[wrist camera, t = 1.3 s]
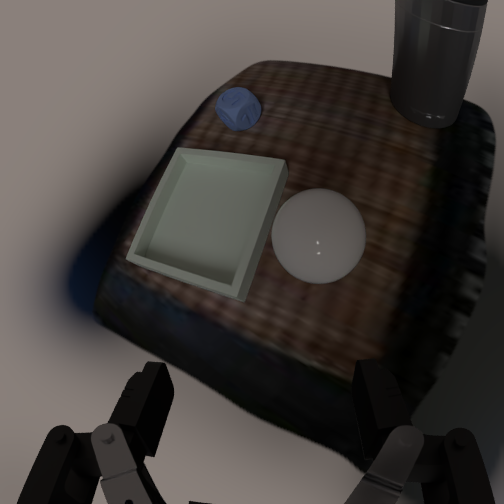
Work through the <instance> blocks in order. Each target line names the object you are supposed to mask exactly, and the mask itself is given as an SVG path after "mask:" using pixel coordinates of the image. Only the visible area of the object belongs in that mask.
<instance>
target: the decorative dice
mask: <svg viewBox="0 0 504 504" xmlns="http://www.w3.org/2000/svg"><path fill="white" fill-rule="evenodd" d="M215 110H216V113H217V114H218V116H219V117H220V119H221V120H222V121H223V122H224V123H225V124H226V125H227V126H228V127H229V128H230V129H232V130H234V131H242V130H246V129H248V128H250V127H252V126H253V125H254V124H255V123H256V122H257V121H258V119H259V117H260V114H261V105H260V103H259V101H258V99H257V98H256V97H255V96H254V95H253V94H252V93H251V92H250V91H249V90H247V89H245V88H241V87H236V88H232V89H229V90H227V91H225V92H224V93H222V94H221V96H220V97H219V98H218V100H217V102H216V107H215Z"/></svg>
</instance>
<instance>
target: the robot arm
mask: <svg viewBox="0 0 504 504" xmlns="http://www.w3.org/2000/svg"><path fill="white" fill-rule="evenodd" d="M487 2H488V0H395V36H394V55H393V69H392V80H391V92H390V97H391V101H392V103H393V105H394V107H395V108H396V109H397V111H398V112H399V113H401V114H402V115H403V116H404V117H406V118H407V119H409V120H410V121H412V122H414V123H416V124H419V125H422V126H425V127H430V128H444V127H447V126H450V125H451V124H452V123H454V122H455V120H456V118H457V116H458V113H459V110H460V107H461V104H462V101H463V98H464V95H465V92H466V89H467V86H468V83H469V79H470V76H471V72H472V69H473V65H474V61H475V58H476V54H477V50H478V46H479V42H480V37H481V33H482V28H483V23H484V18H485V12H486V7H487ZM173 398H174V387H173V383H172V381H171V378H170V375H169V372H168V369H167V366H166V364H165V363H162V362H149V361H148V362H147V363H146V364H145V366H144V369H143V371H142V372H136V373H135V374H134V375H133V376H132V377H131V378H130V379H129V380H128V382H127V384H126V386H125V390H123V392H122V394H121V397H120V398H119V400H118V402H117V404H116V406H115V409H114V411H113V413H112V415H111V417H110V419H109V421H108V423H106V424H102V425H100V426H98V427H97V428H96V429H95V430H94V431H93V432H91V433H74V432H73V430H72V429H71V428H70V427H68V426H66V425H60V426H56V427H54V428H53V429H52V430H50V432H49V433H48V435H47V437H46V439H45V441H44V443H43V445H42V447H41V449H40V451H39V454H38V456H37V458H36V460H35V462H34V464H33V466H32V469H31V471H30V473H29V476H28V478H27V480H26V482H25V485H24V487H23V489H22V492H21V494H20V497H19V499H18V502H17V504H92V501H93V498H94V494H95V491H96V488H97V485H98V482H99V479H100V476H103V479H102V480H101V481H100V483H101V487H102V489H103V492H104V495H105V497H106V500H107V503H108V504H166V502H165V501H164V500H163V498H162V496H161V495H160V493H159V491H158V489H157V488H156V486H155V484H154V482H153V480H152V478H151V476H150V474H149V472H148V470H147V468H146V466H145V464H144V459H145V456H151V457H155V454H156V451H157V448H158V445H159V441H160V438H161V435H162V432H163V428H164V426H165V423H166V420H167V416H168V413H169V411H170V407H171V405H172V401H173ZM352 399H353V404H354V409H355V413H356V418H357V423H358V428H359V433H360V438H361V443H362V448H363V453H364V459H365V460H368V459H373V464H372V465H371V467H370V468H369V470H368V471H367V473H366V474H365V475H364V477H363V478H362V479H361V481H360V482H359V484H358V485H357V487H356V488H355V489H354V491H353V492H352V494H351V495H350V496H349V498H348V499H347V501H346V502H345V503H344V504H395V503H396V501H397V500H398V498H399V496H400V494H401V492H402V488H403V486H404V484H405V482H418V483H421V487H422V493H423V498H424V504H495V501H494V497H493V493H492V489H491V486H490V482H489V479H488V475H487V472H486V469H485V466H484V462H483V459H482V456H481V454H480V451H479V448H478V445H477V442H476V439H475V437H474V435H473V434H472V433H471V432H470V431H469V430H467V429H464V428H456V429H453V430H451V431H450V432H448V434H447V435H446V436H432V435H425V434H422V432H421V431H420V430H419V429H417V428H416V427H414V426H413V425H412V423H411V420H410V417H409V414H408V411H407V408H406V406H405V403H404V400H403V397H402V396H401V392H400V389H399V388H398V384H397V381H396V379H395V376H394V375H393V374H392V373H391V372H390V371H389V370H388V369H382V370H379V367H378V364H377V362H376V359H375V358H372V359H363V360H357V362H356V366H355V371H354V376H353V381H352ZM189 504H210V503H201V502H193V501H189Z"/></svg>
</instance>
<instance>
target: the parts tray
mask: <svg viewBox="0 0 504 504" xmlns="http://www.w3.org/2000/svg"><path fill="white" fill-rule="evenodd" d="M288 175H289V172H288V169H287V165H286V162H285V160H282V159H275V158H268V157H261V156H254V155H246V154H238V153H230V152H221V151H211V150H201V149H189V148H177V150H176V151H175V153H174V155H173V157H172V159H171V161H170V163H169V165H168V167H167V169H166V171H165V173H164V175H163V177H162V179H161V181H160V183H159V185H158V187H157V189H156V191H155V193H154V195H153V198H152V200H151V202H150V204H149V206H148V208H147V211H146V213H145V215H144V217H143V219H142V222H141V224H140V226H139V229H138V231H137V233H136V235H135V238H134V240H133V243H132V245H131V247H130V250H129V252H128V255H127V257H126V259H127V260H128V261H130V262H132V263H134V264H136V265H138V266H140V267H143V268H146V269H148V270H151V271H154V272H157V273H159V274H162V275H165V276H168V277H171V278H174V279H176V280H179V281H182V282H185V283H188V284H191V285H194V286H197V287H200V288H203V289H206V290H208V291H211V292H214V293H217V294H221V295H224V296H227V297H230V298H233V299H236V300H239V301H242V302H245V300H246V297H247V294H248V291H249V288H250V286H251V283H252V280H253V277H254V274H255V271H256V268H257V265H258V263H259V260H260V257H261V254H262V251H263V248H264V245H265V242H266V239H267V236H268V233H269V231H270V228H271V225H272V222H273V219H274V216H275V213H276V210H277V207H278V204H279V201H280V198H281V195H282V193H283V190H284V187H285V184H286V181H287V178H288Z"/></svg>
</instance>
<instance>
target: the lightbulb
mask: <svg viewBox="0 0 504 504" xmlns="http://www.w3.org/2000/svg"><path fill="white" fill-rule="evenodd" d="M365 244H366V228H365V224H364V221H363V218H362V216H361V214H360V212H359V210H358V209H357V207H356V206H355V205H354V204H353V203H352V202H351V201H350V200H349V199H348V198H347V197H345V196H344V195H342V194H340V193H338V192H336V191H333V190H329V189H323V188H314V189H308V190H304V191H301V192H299V193H297V194H295V195H294V196H292V197H291V198H289V199H288V200H287V201H286V202H285V203H284V204H283V205H282V207H281V208H280V209H279V211H278V213H277V215H276V217H275V219H274V222H273V226H272V245H273V249H274V252H275V255H276V257H277V259H278V261H279V262H280V264H281V265H282V266H283V268H284V269H285V270H286V271H287V272H288V273H290V274H291V275H292V276H294V277H295V278H297V279H299V280H301V281H304V282H308V283H313V284H326V283H331V282H334V281H337V280H339V279H341V278H343V277H344V276H346V275H347V274H349V273H350V272H351V271H352V270H353V269H354V268H355V267H356V265H357V264H358V262H359V261H360V259H361V257H362V255H363V252H364V249H365Z"/></svg>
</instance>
